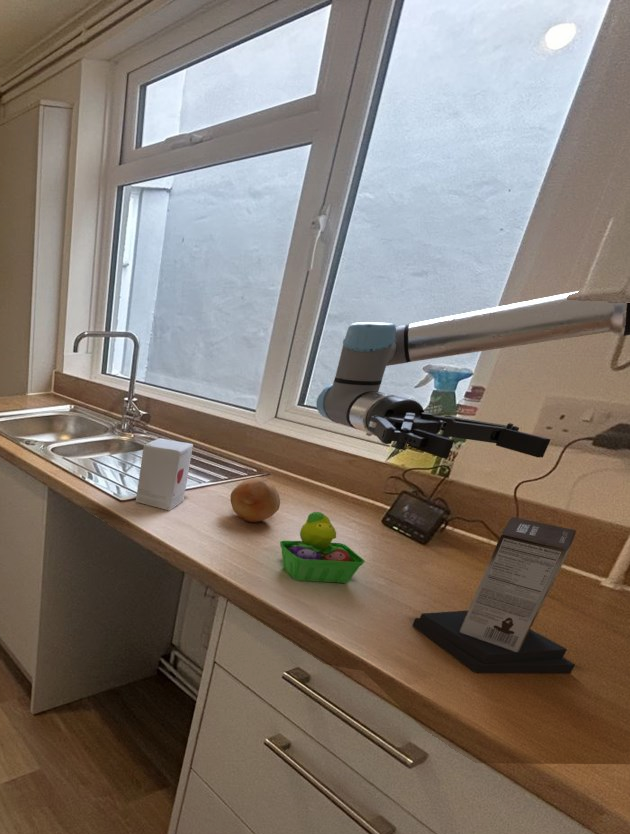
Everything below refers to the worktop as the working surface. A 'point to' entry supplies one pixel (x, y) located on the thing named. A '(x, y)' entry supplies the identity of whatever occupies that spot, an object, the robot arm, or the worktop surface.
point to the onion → (255, 499)
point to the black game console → (492, 648)
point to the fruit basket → (319, 553)
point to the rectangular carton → (164, 473)
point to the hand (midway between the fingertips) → (496, 448)
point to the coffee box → (517, 582)
